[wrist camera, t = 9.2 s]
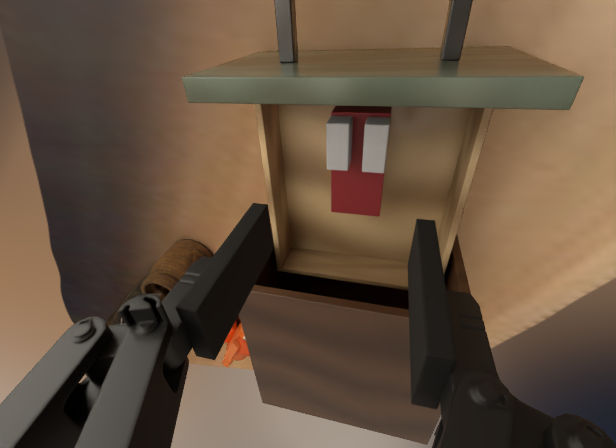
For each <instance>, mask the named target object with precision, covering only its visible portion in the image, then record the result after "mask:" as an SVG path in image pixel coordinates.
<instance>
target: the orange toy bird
mask: <svg viewBox="0 0 616 448" xmlns="http://www.w3.org/2000/svg"><path fill="white" fill-rule="evenodd" d="M224 343H228V344H227V348H226V349H227V352H226V353H225V355H224V357H225V358H224V360H223V362H222V363H223V364H224V365H225V366H226V367H228V366H229V365H230V364H231V363H232V362H233V360H243V359H244V358H246V357H247V356H250V354H249V350H248V346H247V343H246V339H245V335H244V332H243V328H242V324H241V323H240V324H239V326H238V325H237V322H236V321H235V323H234V325H233V326H232V328H231V330H230V332H229V334H228V336H227V338H226V340H225V342H224Z"/></svg>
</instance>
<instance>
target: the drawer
mask: <svg viewBox="0 0 616 448" xmlns="http://www.w3.org/2000/svg"><path fill="white" fill-rule="evenodd" d="M274 2H275V13H276V25H277V36H278V48H279V51H277V52H257V53H254V54H251V55H248V56H245V57H242V58H239V59H236V60H233V61H230V62H227V63H224V64H221V65H218V66H215V67H212V68H209V69H206V70H203V71H200V72H197V73H194V74H191V75H187V76H184V77H182V80H183V84H184V88H185V92H186V95H187V99H188V102H189V103H233V104H255V111H256V118H257V126H258V133H259V140H260V147H261V154H262V162H263V169H264V176H265V183H266V190H267V197H268V205H269V212H270V219H271V226H272V233H273V241H274V248H275V255H276V262H277V269H278V271H283V272H288V273H295V274H302V275H308V276H315V277H322V278H329V279H335V280H342V281H349V282H355V283H362V284H369V285H375V286H382V287H389V288H395V289H402V290H408V261H409V255H410V250H411V245H412V240H413V235H414V230H415V224H416V219H425V220H435V223H436V229H437V236H438V242H439V248H440V254H441V260H442V267H443V273H444V274H445V271H446V267H447V264H448V261H449V257H450V254H451V250H452V247H453V244H454V240H455V237H456V233H457V230H458V227H459V223H460V220H461V217H462V213H463V210H464V206H465V203H466V200H467V196H468V193H469V190H470V186H471V183H472V179H473V176H474V173H475V169H476V166H477V162H478V159H479V156H480V152H481V149H482V146H483V142H484V139H485V135H486V132H487V129H488V125H489V122H490V119H491V115H492V112H493V109H543V110H570V108H571V106H572V104H573V101H574V99H575V97H576V94H577V92H578V90H579V87H580V85H581V83H582V81H583V78H584V77H583V76H581V75H578V74H576V73H574V72H571V71H569V70H566V69H564V68H561V67H559V66H556V65H554V64H551V63H549V62H546V61H544V60H541V59H539V58H536V57H534V56H531V55H529V54H527V53H524V52H522V51H519V50H517V49H514V48H512V47H509V46H505V47H463V43H464V39H465V34H466V29H467V25H468V20H469V15H470V11H471V6H472V2H473V0H450V2H449V8H448V13H447V19H446V25H445V30H444V36H443V41H442V47H441V48H414V49H368V50H323V51H298V46H297V28H296V10H295V0H274ZM336 105H337V106H388V107H392V109H391V119H390V128H389V137H388V146H387V155H386V164H385V173H384V182H383V191H382V200H381V209H380V216H379V217H377V216H367V215H357V214H347V213H337V212H331V170H328V169H327V146H326V124H327V122H328V120H329V119H330V117H331V112H332V110H333V109H334V107H335V106H336Z"/></svg>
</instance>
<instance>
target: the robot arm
mask: <svg viewBox="0 0 616 448" xmlns="http://www.w3.org/2000/svg"><path fill="white" fill-rule="evenodd" d="M273 248H274V247H273V240H272V233H271V226H270V218H269V211H268V205H267V204H256V203H253V204H252V205H251V207H250V208H249V209H248V211H247V212H246V213H245V215H244V216H243V217H242V219H241V220H240V221H239V223H238V224H237V225H236V227H235V228H234V229H233V231H232V232H231V233H230V235H229V236H228V237H227V239H226V240H225V241H224V243H223V244H222V245H221V247H220V248H219V249H218V251H217V252H216V253H215V255H214V256H213V257H206V256H203V257H201V258H200V259H198V260H197V261H196V262H194V263H193V264H192V265H191V266H190V267H189V269H188V270H187V271H186V272H185V274H184V275H183V276H182V277H181V279H180V281H179V282H177V284H176V285H175V286H174V287H173V288H172V290H171V291H170V292H169V293H168V295H167V296H166V297H165V298H164V300H163V301H162V302H161V300H160V299H159V297H158V296H156V295H154V294H142V295H138V296H136V297H134V298H132V299H130V300H128V301H127V302H126V303H125V304H123V305H122V307H121V308H120V309H119V311H118V312H119V314H120V315H121V317H122V319H123V320H124V322H125V324H117V325H107V323H106V322H105V321H104V319H103V318H100V317H89V318H86V319H83V320H81V321H79V322H77V323H76V324H74V325H73V326H71V327H70V328H69V329H68V330H67V331H66V332H65V333H64V334H63V335H62V336H61V337H60V339H59V340H58V341H57V342H56V343H55V344H54V345H53V346H52V347H51V349H50V350H49V351H48V352H47V353H46V354H45V355H44V356H43V358H42V359H41V360H40V361H39V362H38V363H37V364H36V365H35V366H34V368H33V369H32V370H31V371H30V372H29V373H28V374H27V375H26V376H25V377H24V379H23V380H22V381H21V382H20V383H19V384H18V385H17V386H16V387H15V389H14V390H13V391H12V392H11V393H10V394H9V395H8V396H7V397H6V399H5V400H4V401H3V402H2V403H1V404H0V448H170V447H171V443H172V438H173V434H174V429H175V425H176V420H177V415H178V411H179V407H180V402H181V398H182V393H183V389H184V384H185V379H186V375H187V371H188V366H189V359H188V357H187V355H188V354H189V352H190V350H191V349H192V347H193V349H194V352H195V354H196V356H199V357H203V358H208V359H212V360H215V359H216V357H217V355H218V353H219V351H220V349H221V347H222V346H223V344H224V342H225V340H226V338H227V336H228V334H229V332H230V330H231V328H232V326H233V325H234V323H235V321H236V319H237V317H238V315H239V313H240V311H241V309H242V307H243V305H244V304H245V302H246V300H247V298H248V296H249V294H250V292H251V290H252V288H253V286H254V284H255V283H256V281H257V279H258V277H259V275H260V273H261V271H262V269H263V267H264V265H265V264H266V262H267V260H268V258H269V256H270V254H271V252H272V250H273ZM408 298H409V335H410V372H411V404H413V405H418V406H422V407H427V408H431V409H436V410H437V408H438V406H439V403H440V407H441V417H442V419H441V421H440V423H439V425H438V427H437V429H436V432H435V434H434V435H436V436H435V439H434V443H433V446H432V448H616V444H615V443H614V442H613V440H612V439H611V438H610V437H609V436H608V435H607V434H606V433H605V432H604V431H603V430H602V429H600V428H599V427H598V426H596V425H595V424H594V423H592V422H591V421H589V420H587V419H584V418H582V417H580V416H577V415H570V414H563V415H561V416H557V417H556V418H553V417H551V416H549V415H547V414H545V413H542V412H541V411H539V410H536V409H534V408H532V407H530V406H528V405H526V404H525V403H523V402H521V401H519V400H518V399H517V398H516V397H515V396H513V395H512V394H511V393H510V392H509V390H508V389H507V388H506V387H505V386H504V385H503V384H502V382H501V381H500V379H499V377H498V374H497V372H496V367H495V364H494V360H493V356H492V352H491V348H490V345H489V341H488V337H487V333H486V332H485V326H484V322H483V321H482V314H481V310H480V307H479V304H478V303H477V302H476V300H475V299H474V298H473V296H472V295H471V294H470V293H467V292H460V291H453V290H446V285H445V279H444V273H443V267H442V260H441V254H440V248H439V242H438V236H437V229H436V223H435V220H425V219H416V224H415V230H414V235H413V240H412V245H411V250H410V255H409V261H408ZM84 375H86V376H87V377H86V378H85V379H84V380H83V381H82V383H79V381H80V380H81V379H82V377H83V376H84Z"/></svg>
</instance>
